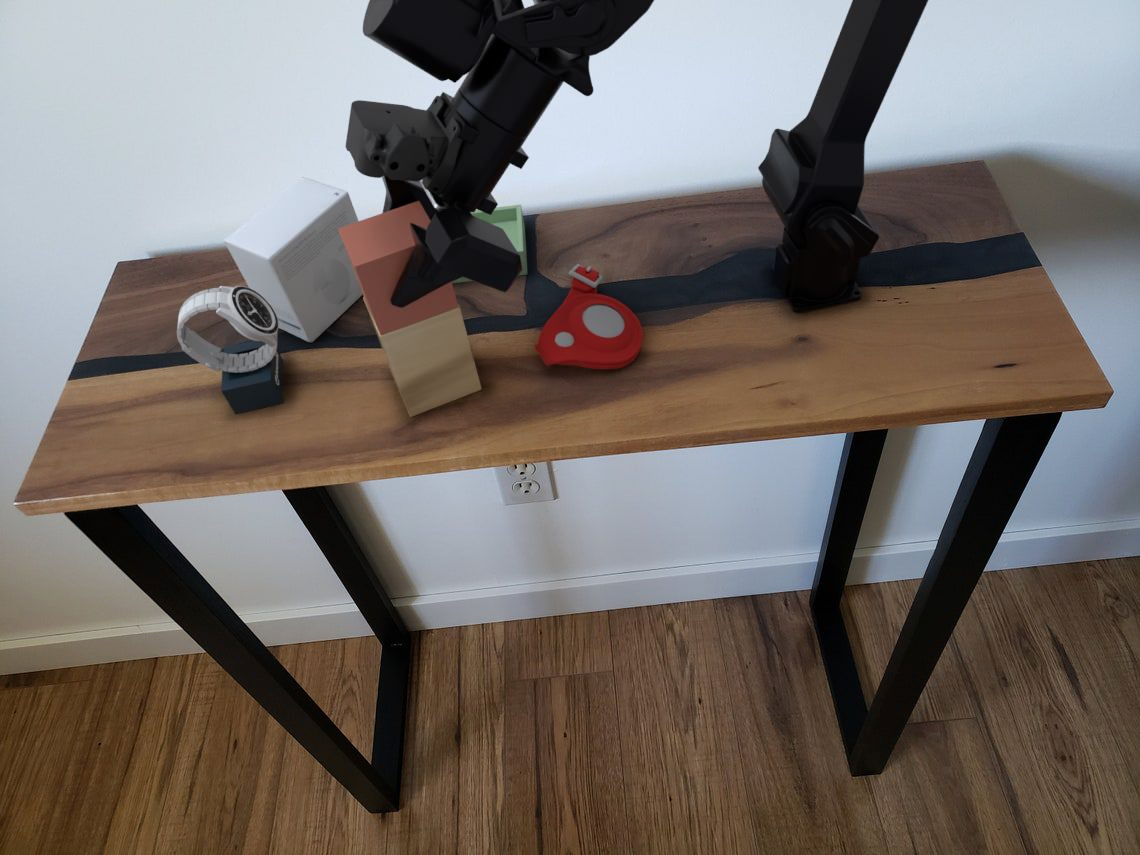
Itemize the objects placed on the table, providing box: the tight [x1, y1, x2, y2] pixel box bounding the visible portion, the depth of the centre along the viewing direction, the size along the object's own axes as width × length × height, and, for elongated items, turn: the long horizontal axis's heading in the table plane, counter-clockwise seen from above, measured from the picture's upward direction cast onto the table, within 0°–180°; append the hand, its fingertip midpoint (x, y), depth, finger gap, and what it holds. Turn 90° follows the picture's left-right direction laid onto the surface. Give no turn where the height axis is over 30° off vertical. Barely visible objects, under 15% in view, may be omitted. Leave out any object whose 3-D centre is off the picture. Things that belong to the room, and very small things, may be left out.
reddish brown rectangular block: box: [338, 201, 459, 335], centre depth 67 cm, size 5×6×7 cm
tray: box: [452, 204, 529, 284], centre depth 87 cm, size 10×7×3 cm
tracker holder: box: [533, 263, 644, 370], centre depth 78 cm, size 12×4×10 cm
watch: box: [176, 285, 284, 415], centre depth 75 cm, size 6×8×11 cm
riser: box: [362, 296, 483, 418], centre depth 73 cm, size 5×7×10 cm
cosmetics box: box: [223, 176, 363, 343], centre depth 82 cm, size 10×6×10 cm, turn 147°
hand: (386, 284), depth 67 cm, fingers closed on reddish brown rectangular block, 5 cm apart
